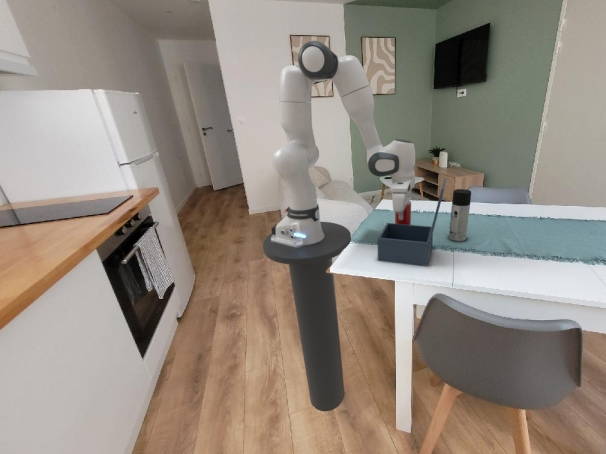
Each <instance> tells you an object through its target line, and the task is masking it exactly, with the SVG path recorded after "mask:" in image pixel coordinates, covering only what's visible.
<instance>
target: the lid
mask: <svg viewBox="0 0 606 454" xmlns="http://www.w3.org/2000/svg"><path fill="white" fill-rule="evenodd" d="M446 184H447V177H444V178H443V182H442V184H441V185H442V186H441V190H440V194H439V197H438V201H437V204H436V208H435V211H434V212H435V213H434V217H433V221H432V225H431V227H432V228H431V232H430V236H429V240H428V242H431V238H432V234H433V235H434V230H435V227H436V223H437V219H438V216H439V215H438V214H439V211H440V208H441V203H442V199H443V195H444V191H445V187H446ZM432 239H433V238H432Z"/></svg>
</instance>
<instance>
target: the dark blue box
mask: <svg viewBox="0 0 606 454" xmlns="http://www.w3.org/2000/svg"><path fill="white" fill-rule="evenodd" d="M431 228H432V226H431V225H430V226H428V225H417V224H416V225H415V224H411V225H406V224H395V223H392V222H386V224H385V225H384V228H382V230H381V232H380V234H379V236H378V237H377V261H380V262H387V263H397V264H405V265H412V266H413V265H414V266H421V267H429V262H430V259H431V253H432V249H433V236H434V233H433V234H432V238H431V242H428V240H429V236H430V232H431Z"/></svg>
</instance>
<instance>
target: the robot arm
mask: <svg viewBox="0 0 606 454" xmlns="http://www.w3.org/2000/svg"><path fill="white" fill-rule="evenodd" d="M297 60H298V61H297V62H298V64H296V65H293V64H292V65H288V66H285V67H283V68H282V69H281V71H280V74H279V83H278V106H279V123H280V126H281V128H282V129H283V131H284V133H285V137H286V139H287V144H285V145H282V146H280V147H279V148H278V149H277V150H276V151H275V152H274V153H273V154H272V158H271V161H272V162H271V163H272V167H273V169H274V170H275V172H276V173H277V174H278V175H280V177H281V178H282V181H283V183H284V186H285V189H286V193H287V198H288V205H289V206H288V207H286V208H285V209H284V214H286V213H287V214H286V216H285V217H284V218H282V219H281V220H280V221H279V222H278V223H275V224H274V225H273V226H272V227H271V228H270V230H271V233H272V234H274V235H273V236H272V237H271V241H272V242H276V243H280V244H284V245H288V246H292V247H296V248H298V247H302V246H304V245H310V244H314V243H317V242H319V241H321V240H322V239H324V237H325V235H324V233H323V230H322V227H321V223H320V222H321V219H320V207H319V203H318V196H317V189H316V187H317V186H316V185H315V184H314V183H313V181H312V178H311V176H310V173H309V169H311V168H312V167H314V166H315V165H316V163H317V162H318V160H319V159H320V150H319V147H318V146H317V145H316V140H315V135H314V130H313V119H312V117H313V115H312V88H313V86H314V85H317V84H320V83H324V82H327V81H331V82H332V83H333V84H334V87H335V88H336V90H337V93H338V96H339V98H340V101H341V103H342V105H343V107H344V109H345V112H346V113H347V116H348V117H349V118H350V119H351V120H352V121H353V122H354V123H355V125H356V127H357V129H358V130H359V133H360V136H361V139H362V141H363V145H364V147H365V164H366V166H367V168H368V170H369V172H370V173H371V174H372V175H373V176H375V177H387V176H391V184H390V193H391V199H392V210H393V213H394V214H395V213H398V215H399V220H403V218H404V215H403V212H404V210H405V208H406V205H407V202H408V201H411V199H412V190H413V189H414V188H415V186H416V173H415V166H416V147H415V145H414V143H413V141H410V140H407V139H402V138H395V139H393V140H392V142H390V143H389V144H386V145H385V146H384V145H383V143H382V142H381V139H380V137H379V133H378V131H377V127H376V124H375V117H374V115H375V107H376V106H375V100H374V99H375V98H374V94H373V90H372V87H371V84H370V80H369V78H368V75H367V73H366V71H365V69H364V66H363V65H362V64H361V61H360V60H359V58H357V56H356V55H355V56H354V55H349V54H348V55H343V56H340V57H338V55H337V54H335V52H334V51H332V50H331V48H330V47H328V46H327V45H325V44H324V43H323V42H321V41H318V40H310V41H307V42H305V43H304V44H303V45H302V46H301V47H300V48H299V51H298V53H297Z"/></svg>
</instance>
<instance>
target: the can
mask: <svg viewBox="0 0 606 454" xmlns="http://www.w3.org/2000/svg"><path fill="white" fill-rule="evenodd" d="M411 201H412V200H410V201H408V202H407V205H406V208H405V210H404V212H403V215H404V218H403V220H399V215H398V213H395V212H394V224H406V225H412V202H411Z"/></svg>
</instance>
